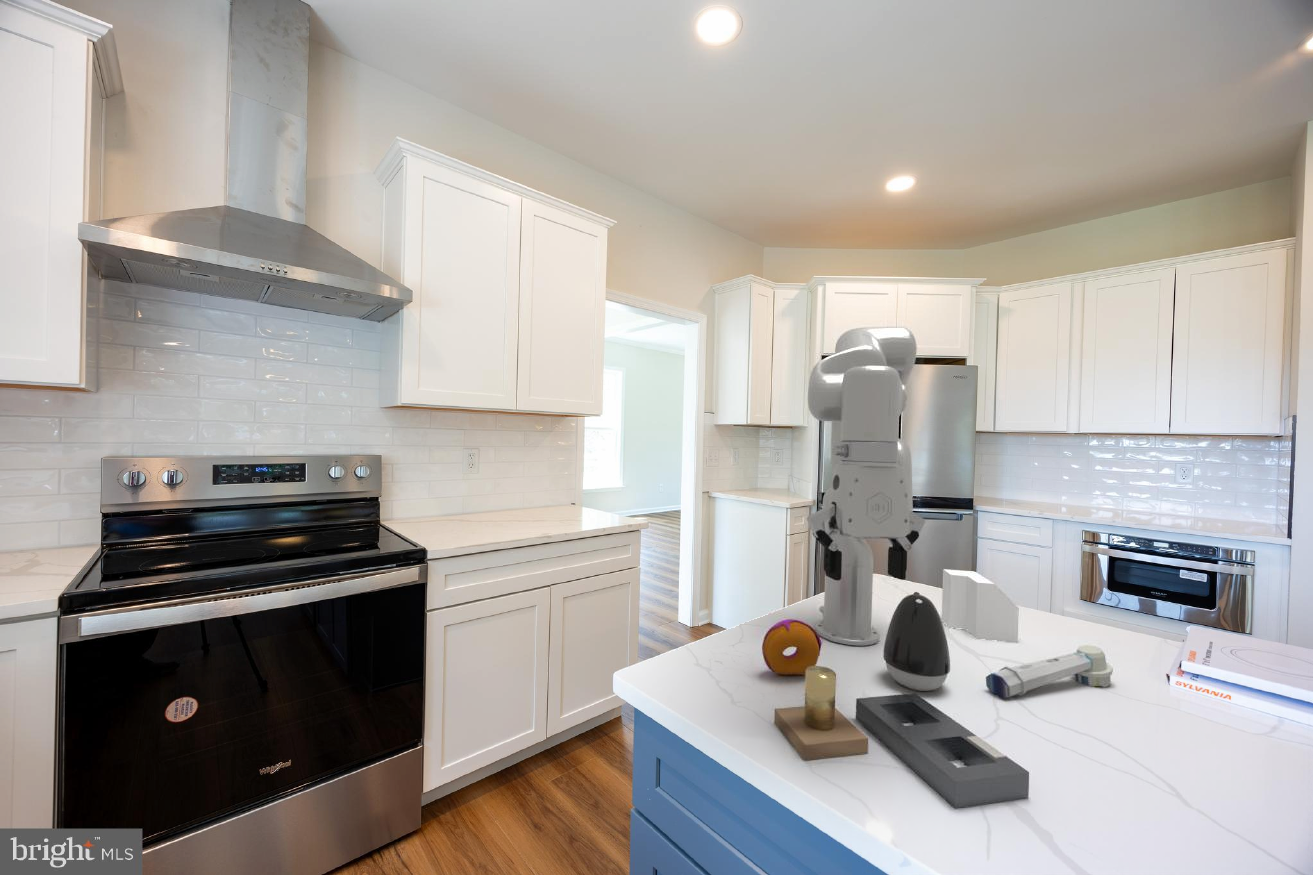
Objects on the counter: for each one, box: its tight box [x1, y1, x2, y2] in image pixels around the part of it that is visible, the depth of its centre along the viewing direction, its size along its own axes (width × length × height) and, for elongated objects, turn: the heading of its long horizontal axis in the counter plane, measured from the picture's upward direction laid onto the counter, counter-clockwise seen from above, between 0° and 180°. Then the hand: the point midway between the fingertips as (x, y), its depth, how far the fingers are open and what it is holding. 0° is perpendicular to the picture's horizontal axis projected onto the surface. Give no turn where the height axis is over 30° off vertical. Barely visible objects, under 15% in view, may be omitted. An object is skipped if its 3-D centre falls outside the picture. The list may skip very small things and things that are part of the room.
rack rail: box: [855, 692, 1030, 809], centre depth 69 cm, size 19×10×3 cm, turn 13°
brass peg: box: [804, 665, 837, 731], centre depth 72 cm, size 4×4×7 cm
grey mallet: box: [985, 644, 1114, 700], centre depth 89 cm, size 5×7×25 cm
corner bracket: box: [941, 568, 1019, 644], centre depth 116 cm, size 11×11×12 cm
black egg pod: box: [882, 591, 951, 692], centre depth 89 cm, size 10×10×15 cm
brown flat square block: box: [773, 705, 869, 761], centre depth 72 cm, size 9×9×2 cm
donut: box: [761, 618, 823, 676], centre depth 91 cm, size 8×9×10 cm
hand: (865, 577), depth 73 cm, fingers open, 9 cm apart
